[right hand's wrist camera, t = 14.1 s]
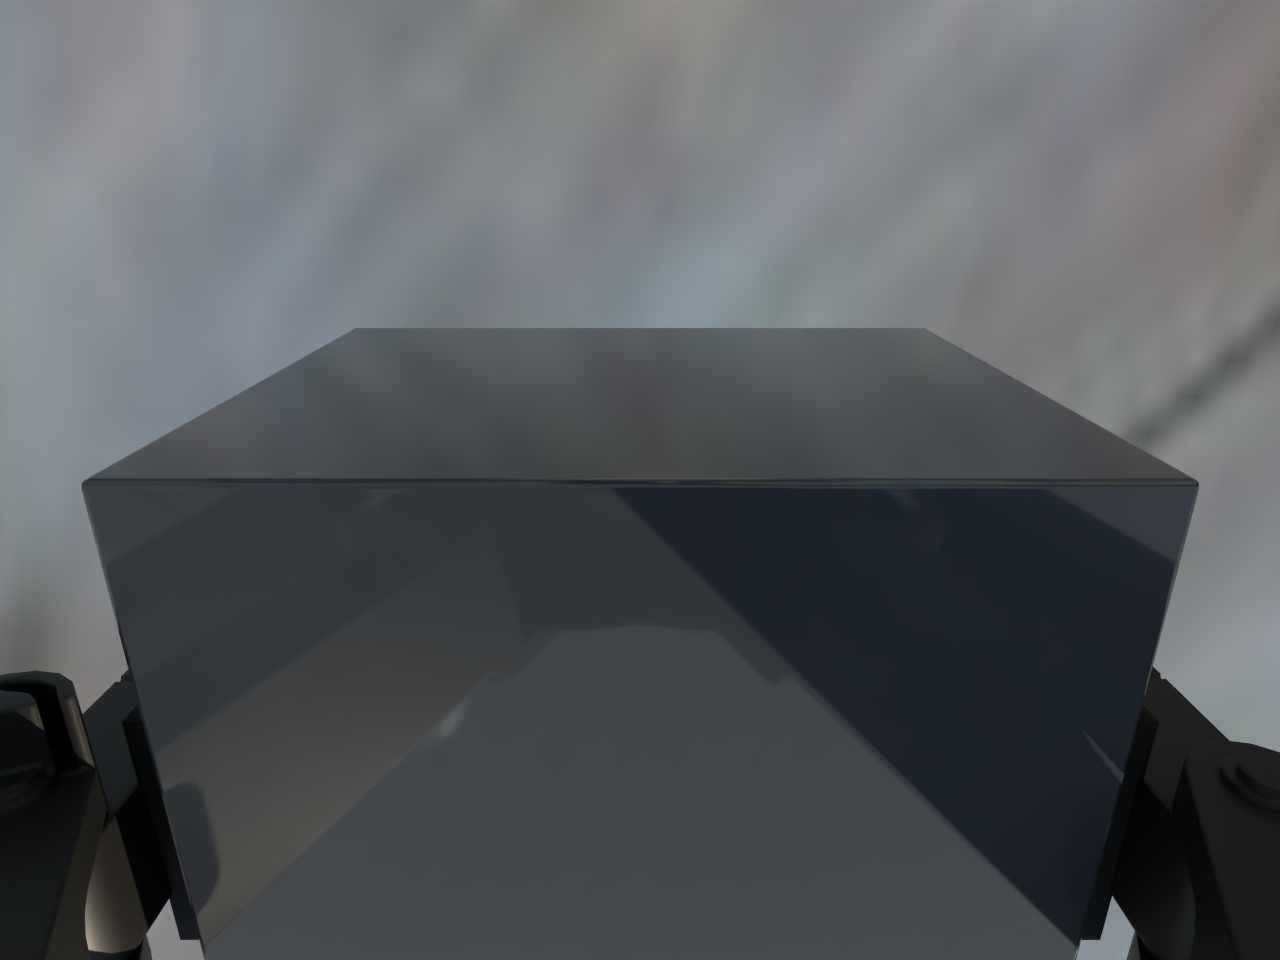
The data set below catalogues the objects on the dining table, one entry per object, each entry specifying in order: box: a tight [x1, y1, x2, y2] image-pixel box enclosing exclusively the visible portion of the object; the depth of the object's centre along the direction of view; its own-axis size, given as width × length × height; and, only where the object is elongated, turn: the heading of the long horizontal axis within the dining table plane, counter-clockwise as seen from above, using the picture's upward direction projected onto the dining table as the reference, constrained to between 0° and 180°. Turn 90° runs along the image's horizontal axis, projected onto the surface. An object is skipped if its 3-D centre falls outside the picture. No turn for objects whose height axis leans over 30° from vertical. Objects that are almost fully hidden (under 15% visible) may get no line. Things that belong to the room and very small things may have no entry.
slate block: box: [82, 328, 1199, 960], centre depth 10 cm, size 8×8×6 cm
